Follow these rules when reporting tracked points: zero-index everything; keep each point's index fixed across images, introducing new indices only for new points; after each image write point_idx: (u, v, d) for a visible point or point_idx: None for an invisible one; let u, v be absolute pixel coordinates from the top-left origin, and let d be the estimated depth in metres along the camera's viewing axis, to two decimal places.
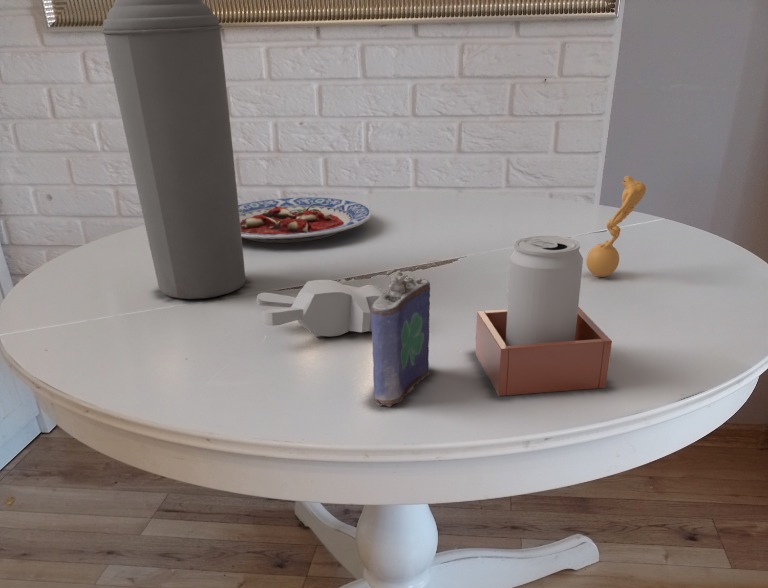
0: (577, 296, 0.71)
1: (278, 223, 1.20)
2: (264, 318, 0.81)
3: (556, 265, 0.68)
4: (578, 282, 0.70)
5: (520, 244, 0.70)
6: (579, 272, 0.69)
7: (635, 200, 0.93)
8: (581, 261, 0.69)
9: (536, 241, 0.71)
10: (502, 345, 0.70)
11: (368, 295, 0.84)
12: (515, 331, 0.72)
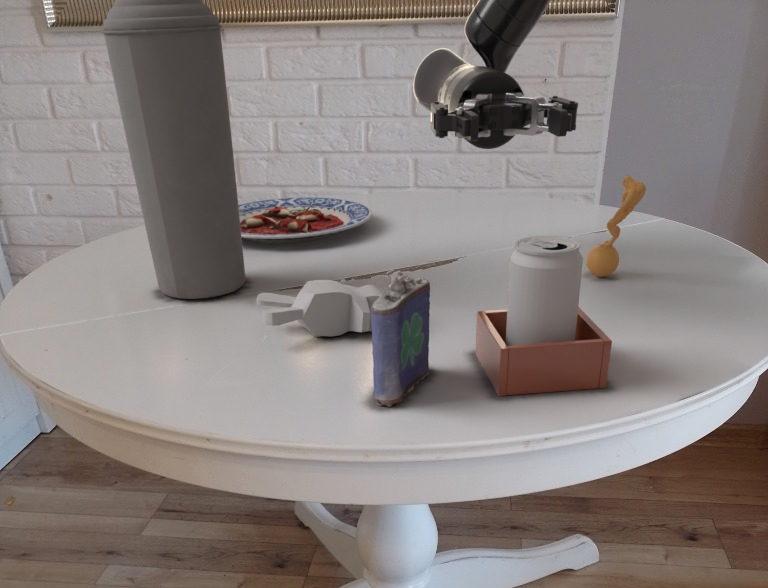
0: (577, 296, 0.71)
1: (278, 223, 1.20)
2: (264, 318, 0.81)
3: (556, 265, 0.68)
4: (578, 282, 0.70)
5: (520, 244, 0.70)
6: (579, 272, 0.69)
7: (635, 200, 0.93)
8: (581, 261, 0.69)
9: (536, 241, 0.71)
10: (502, 345, 0.70)
11: (368, 295, 0.84)
12: (515, 331, 0.72)
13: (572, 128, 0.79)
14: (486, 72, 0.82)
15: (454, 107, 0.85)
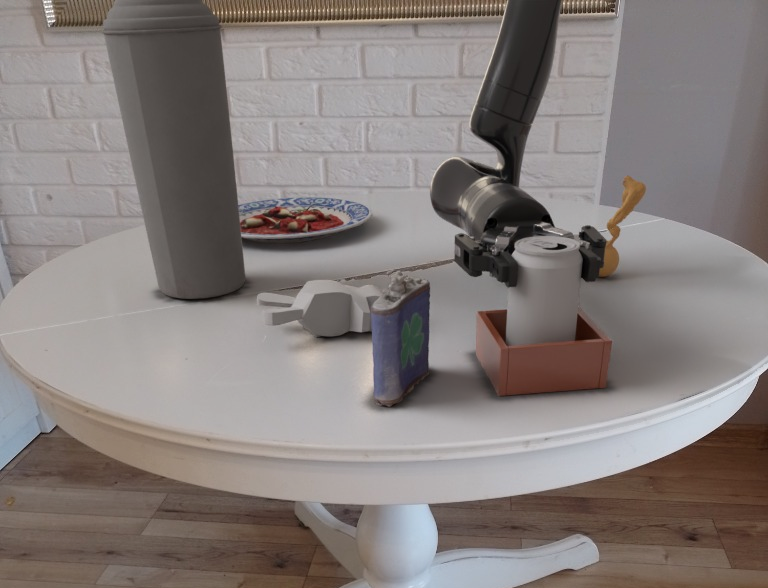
0: (577, 296, 0.71)
1: (278, 223, 1.20)
2: (264, 318, 0.81)
3: (556, 265, 0.68)
4: (578, 282, 0.70)
5: (520, 244, 0.70)
6: (579, 272, 0.69)
7: (635, 200, 0.93)
8: (581, 261, 0.69)
9: (536, 241, 0.71)
10: (502, 345, 0.70)
11: (368, 295, 0.84)
12: (515, 331, 0.72)
13: None
14: (513, 199, 0.77)
15: (478, 233, 0.79)
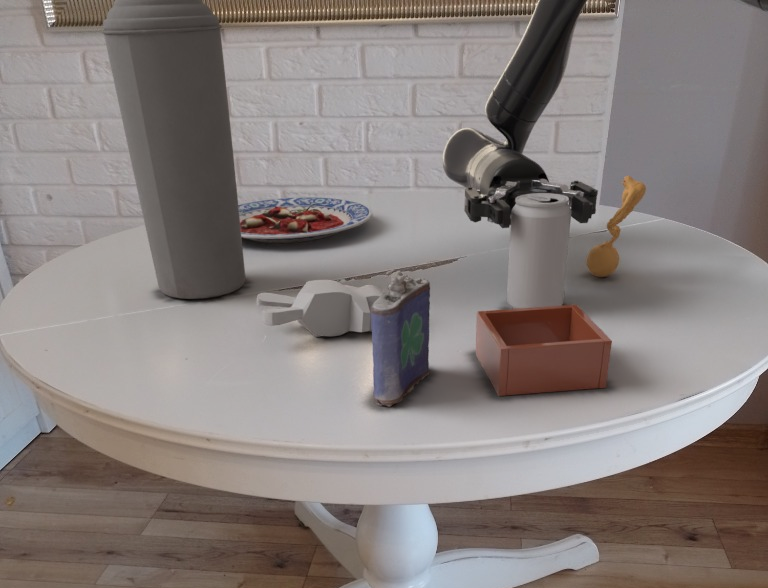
0: (566, 242, 0.86)
1: (278, 223, 1.20)
2: (264, 318, 0.81)
3: (549, 215, 0.83)
4: (567, 230, 0.85)
5: (520, 199, 0.85)
6: (568, 221, 0.84)
7: (635, 200, 0.93)
8: (570, 212, 0.84)
9: (533, 197, 0.86)
10: (502, 345, 0.70)
11: (368, 295, 0.84)
12: (515, 271, 0.87)
13: (592, 212, 0.89)
14: (514, 160, 0.92)
15: (485, 189, 0.94)
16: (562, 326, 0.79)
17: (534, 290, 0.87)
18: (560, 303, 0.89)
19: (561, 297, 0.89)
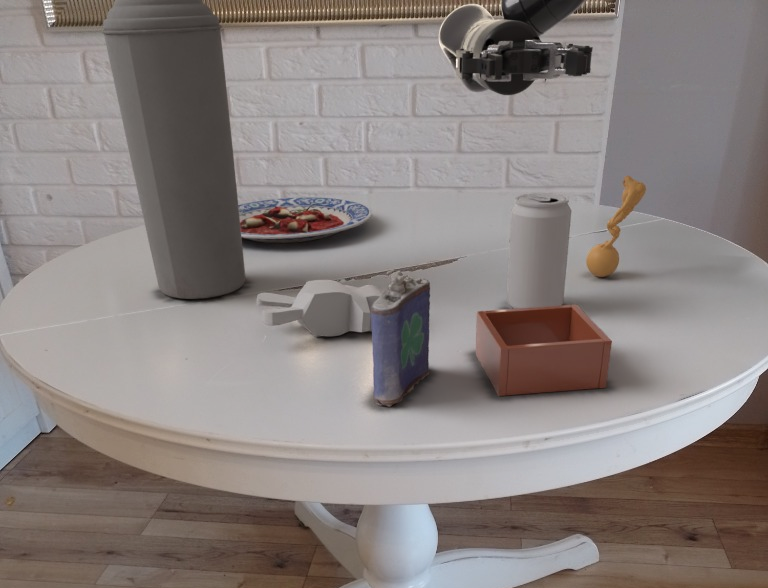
0: (566, 242, 0.86)
1: (278, 223, 1.20)
2: (264, 318, 0.81)
3: (549, 215, 0.83)
4: (567, 230, 0.85)
5: (520, 199, 0.85)
6: (568, 221, 0.84)
7: (635, 200, 0.93)
8: (570, 212, 0.84)
9: (533, 197, 0.86)
10: (502, 345, 0.70)
11: (368, 295, 0.84)
12: (515, 271, 0.87)
13: (587, 71, 0.86)
14: (507, 22, 0.89)
15: (477, 56, 0.92)
16: (562, 326, 0.79)
17: (534, 290, 0.87)
18: (560, 303, 0.89)
19: (561, 297, 0.89)
